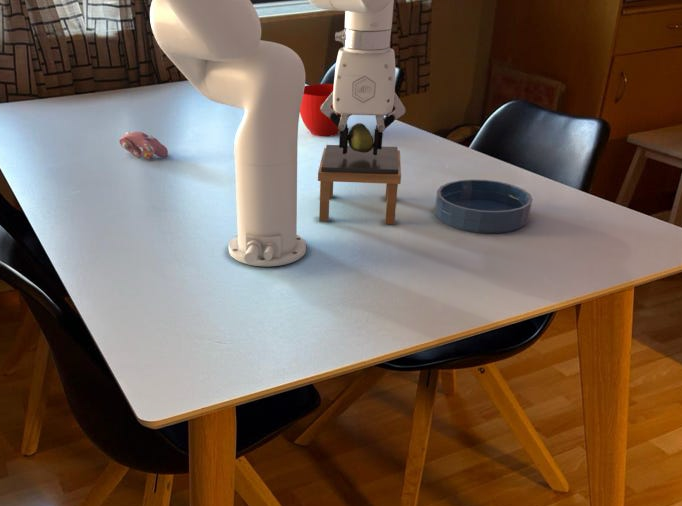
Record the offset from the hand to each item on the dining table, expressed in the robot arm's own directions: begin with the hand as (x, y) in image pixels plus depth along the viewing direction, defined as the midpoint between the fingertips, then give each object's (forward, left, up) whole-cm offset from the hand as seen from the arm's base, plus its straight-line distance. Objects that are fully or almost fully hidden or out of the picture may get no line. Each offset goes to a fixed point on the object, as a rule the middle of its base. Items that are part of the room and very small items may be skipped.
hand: (360, 151), depth 126 cm
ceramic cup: (+50, +8, -11) cm, 52 cm away
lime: (0, 0, 0) cm, 0 cm away
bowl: (-1, -22, -11) cm, 25 cm away
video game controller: (+26, +48, -11) cm, 56 cm away
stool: (0, 0, -11) cm, 11 cm away
